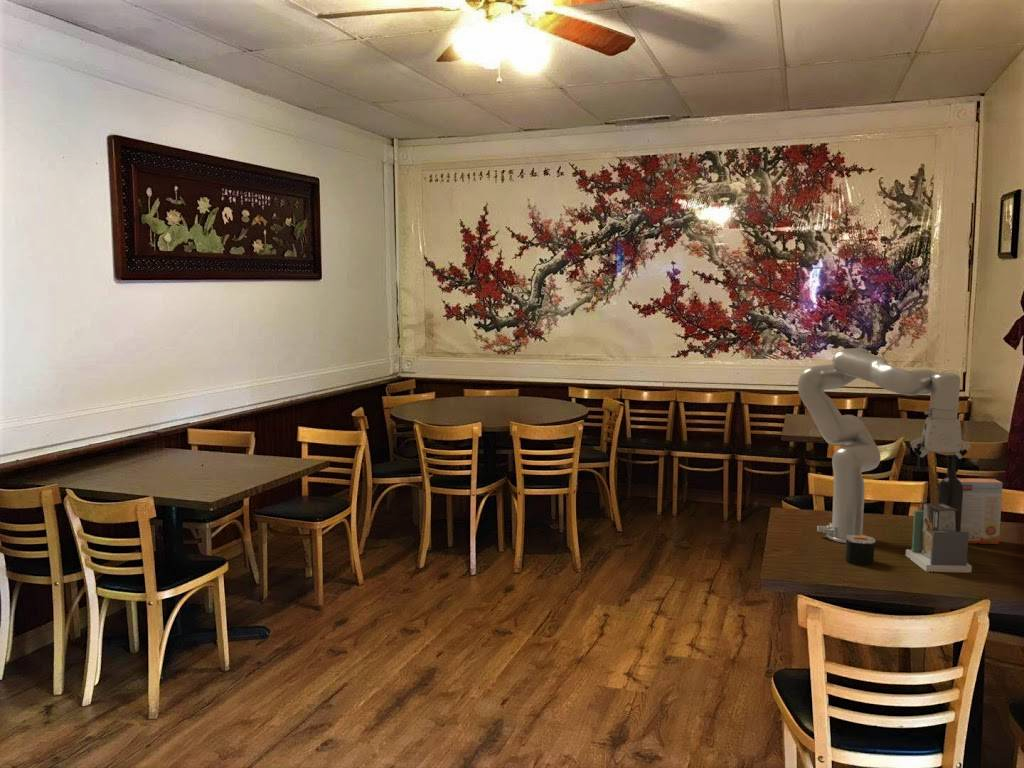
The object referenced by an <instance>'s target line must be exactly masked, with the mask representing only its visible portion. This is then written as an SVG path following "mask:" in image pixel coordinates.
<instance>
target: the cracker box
mask: <svg viewBox="0 0 1024 768" xmlns="http://www.w3.org/2000/svg"><path fill="white" fill-rule="evenodd" d="M956 478H957V479H958V480H959V481H960V482H961V483H962V486H963V500H962V515H961V530H960V532H968V533H969V537H968V544H977V543H979V545H980V544H982V545H984V544H985V545H999V544H1000V532H1001V518H1002V517H1001V514H1002V497H1003V496H1002V495H1003V482H1002V481H1000V480H997V479H996V478H969V477H968V478H962V477H960V478H959V477H956Z"/></svg>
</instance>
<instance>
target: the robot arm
mask: <svg viewBox="0 0 1024 768" xmlns="http://www.w3.org/2000/svg"><path fill="white" fill-rule="evenodd" d="M857 379H860V380H862V381H867V382H869V383H873V384H875V385H876V386H878V387H879V388H881V389H883V390H885V391H889V392H892V393H896V394H900V395H903V396H908V397H909V396H911V397H912V396H919V395H928V394H929V395H930V401H929V407H928V409H924V415H928V416H927V417H926V418H925V422H924V423H923V424H924V425H923V428H922V434H921V436H920V437H917V438H916V439H913V440H911V441H910V442H909V445H910V446H911V448H912V452H914V453H915V454H916V455H917V468H918V469H919V470H921V471H922V472H923V471H925V470H926V461H927V459H926V458H927V457H926V455H927V454H928V453H938V454H939V453H940V454H941V453H942V454H952V455H954V457H952V464H951V469H952V470H953V471H955V472H958V471H959V469H960V467H961V465H960V464H961V459H963V457H964V456H965V455H966V454H967V453H968V451H969V450H970V449H971V447H972V445H971V443H969V442H967V441H965V440H964V439H962V427H961V426H962V425H961V420H960V419H958V409H959V401H960V399H959V398H960V389H961V377H960V375H958V374H956V373H951V372H939V371H934V370H933V369H931V370H930V369H916V370H906V369H903V368H902V369H901V368H898V367H895V366H891V365H890V364H889V363H888V360H887V359H886V358H885V357H882V356H878V355H874V354H872V353H871V351H869V350H868V349H866V348H863V347H858V348H857V347H856V348H855V347H854V348H853V347H852V348H843V349H841V350H839V351H837V352H836V353H835V354H834V356H833V357H832V364H823V365H822V364H821V365H814V366H810V367H807V368H806V369H804V370H803V371H802V373H801V374H800V375H799V378H798V380H797V381H798V382H797V390H798V395H799V397H800V399H801V401H802V403H803V405H804V406H805V407H806V409H807V410H808V412H809V413H810V416H811V418H812V420H813V422H814V424H815V425H816V427H817V429H818V431H819V433H820V434H821V436H822V438H823V440H825V442H826V443H827V444H828V445H833V446H834V445H835V446H837V445H843V444H845V445H843V446H841V447H839V448H837V449H836V450H835V451H834V453H833V455H832V460H831V464H832V465H831V466H832V471H833V472H832V473H833V498H832V499H833V500H832V501H833V503H832V519H831V521H832V522H829V523H828V524H827V525H817V526H816V531H817V532H822V533H824V534H826V537H827V538H828V539H829V540H831V541H834V542H837V543H843V544H846V536H847V535H850V536H851V535H852V536H853V535H858V536H861V535H863V536H864V535H865V536H867V535H866V534H864V533H863V529H864V527H863V526H864V512H865V511H864V509H865V492H866V491H865V486H866V485H865V481H864V478H863V474H862V473H864V472H868V471H869V472H870V471H872V470H875V469H877V468H878V466H879V464H880V463H881V452H880V450H879V447H878V446H877V444H876V442H875V440H874V439H873V437H872V435H871V434H870V432H869V430H868V428H867V427H866V425H865V424H864V422H863V420H862V419H860V418H859V417H857V416H855V415H854V414H844V415H842V414H841V412H840V410H839V409H838V407H837V406H836V404H835V402H834V401H833V399H832V398H831V397H830V396H829V395H827V394H826V392H825V391H826V390H827V391H828V390H837V389H841V388H843V387H845V386H846V385H849V384H850V383H852V382H854V381H855V380H857ZM919 444H920V449H919V448H918V445H919ZM962 446H963V447H962Z"/></svg>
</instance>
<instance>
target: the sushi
mask: <svg viewBox="0 0 1024 768" xmlns="http://www.w3.org/2000/svg"><path fill="white" fill-rule="evenodd" d="M865 535H866V534H864V536H863V535H861V536H858V535H853V536H852V535H851V536H850V535H847V536H846V543H845V546H846V547H845V549H846V550H845V562H846V563H847V564H850V565H854V566H862V567H870V566H873V565H874V557H875V543H876V538H874V537H873V536H869V535H868V536H867V535H866V536H865Z"/></svg>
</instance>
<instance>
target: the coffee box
mask: <svg viewBox="0 0 1024 768" xmlns="http://www.w3.org/2000/svg"><path fill="white" fill-rule="evenodd" d="M923 511H924V514H923V532H922V551H921V554H922V555H924V556H926V557H928V558H929V559H931V544H932V531H950V532H958V521H959V510H957V509H955V508H953V507H951V506H948V505H946V504H944V503H938V502H930V503H927V502H925V503H923Z"/></svg>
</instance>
